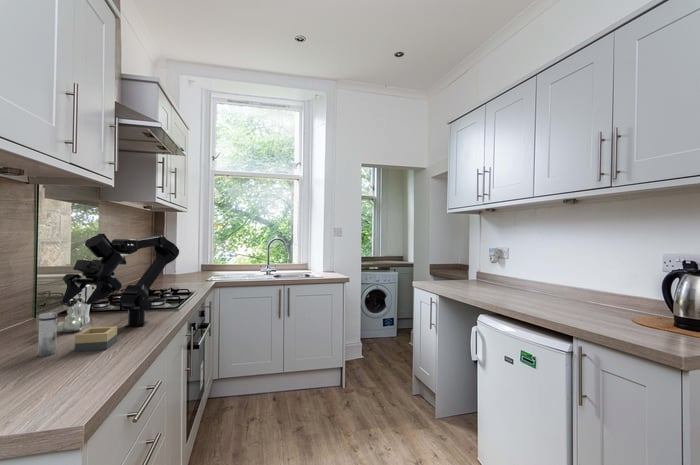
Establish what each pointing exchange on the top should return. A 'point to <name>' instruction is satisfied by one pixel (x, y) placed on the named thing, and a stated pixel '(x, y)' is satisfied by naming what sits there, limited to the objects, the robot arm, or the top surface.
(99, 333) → the collar block
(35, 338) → the top surface
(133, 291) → the robot arm
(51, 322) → the metal tumbler
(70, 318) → the valve
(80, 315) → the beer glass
